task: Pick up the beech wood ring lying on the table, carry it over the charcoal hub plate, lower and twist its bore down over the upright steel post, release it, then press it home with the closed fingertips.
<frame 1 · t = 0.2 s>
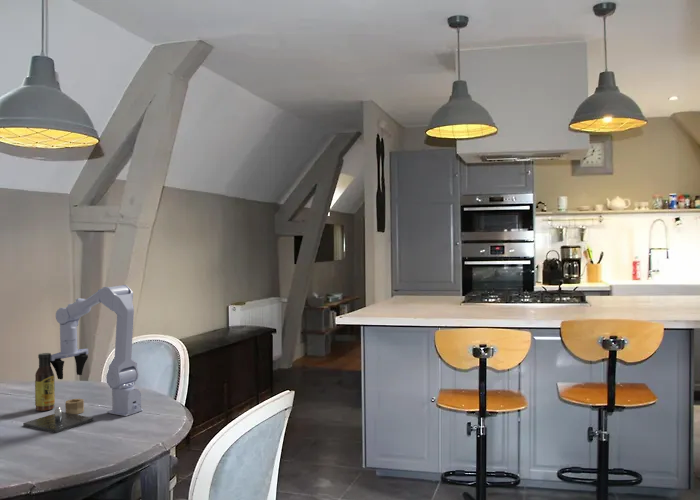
hand: (69, 376, 231), 10 cm above the table, tool pointing down, fingers open, 7 cm apart
hub: (58, 423, 207), on the table
sauce bottle: (45, 409, 224), on the table
ring: (74, 412, 220), on the table
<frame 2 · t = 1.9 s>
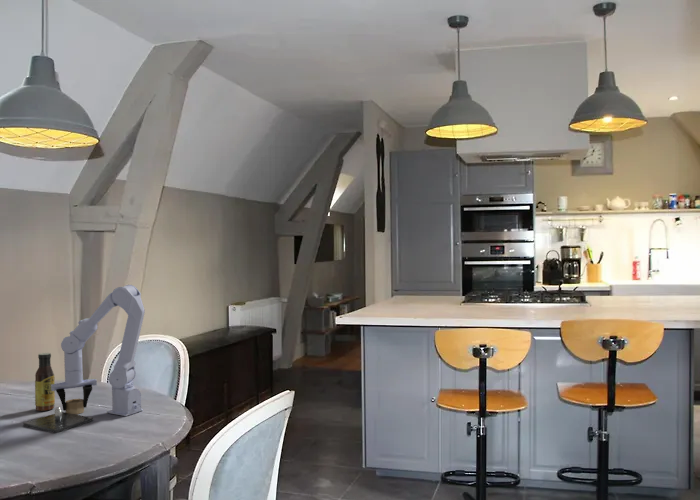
hand: (74, 408, 220), 1 cm above the table, tool pointing down, fingers closed on ring, 6 cm apart
ring: (74, 412, 220), on the table, touching gripper
everything else where it was.
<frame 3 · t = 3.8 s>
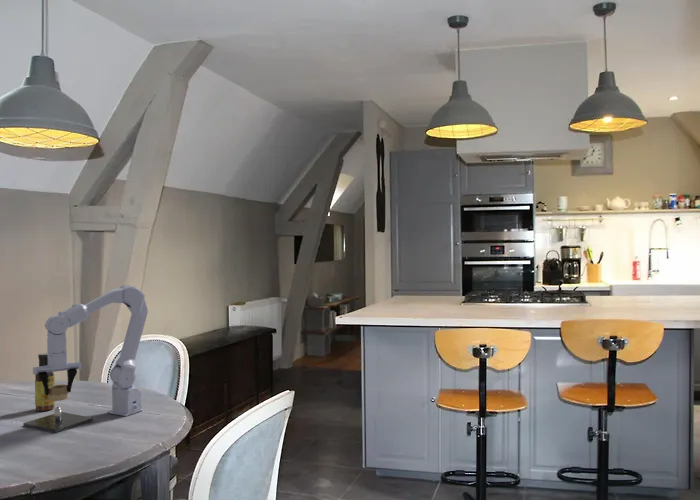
hand: (58, 393, 208), 10 cm above the table, tool pointing down, fingers closed on ring, 6 cm apart
ring: (58, 398, 208), point 8 cm above the table, touching gripper
everything else where it was.
when the fingers open (3 cm above the table, at t = 5.6 s): ring stays where it is, resting on hub.
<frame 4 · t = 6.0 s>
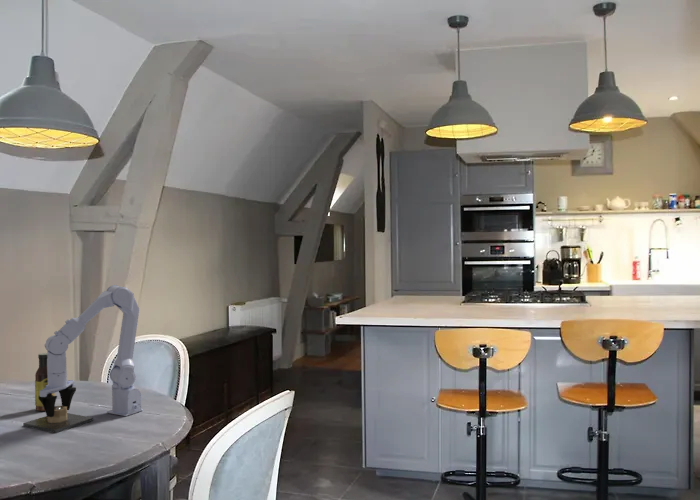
hand: (58, 413, 207), 3 cm above the table, tool pointing down, fingers open, 7 cm apart
ring: (57, 420, 208), point 1 cm above the table, touching hub
everything else where it was.
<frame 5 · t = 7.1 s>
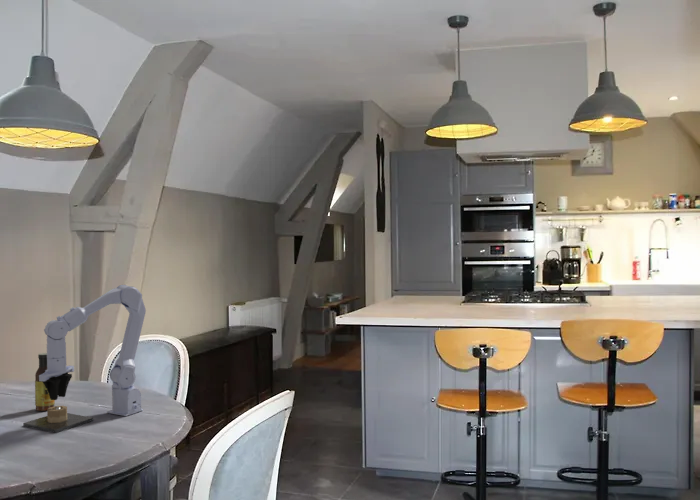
hand: (57, 398, 207), 8 cm above the table, tool pointing down, fingers open, 3 cm apart
nothing on the table moved.
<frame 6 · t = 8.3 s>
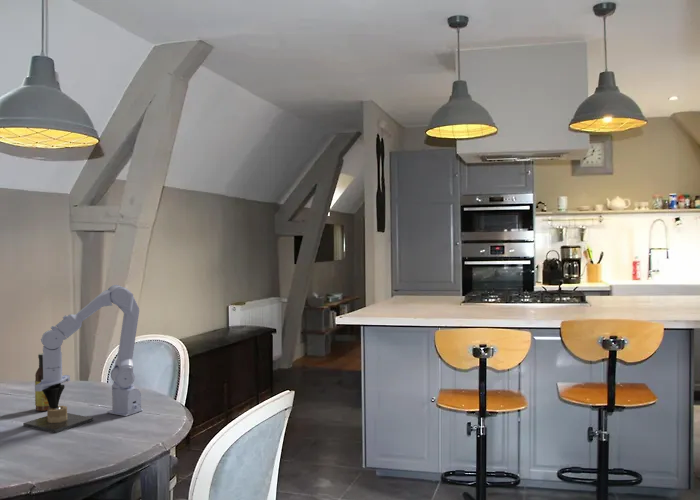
hand: (53, 407, 208), 5 cm above the table, tool pointing down, fingers closed, pressing on ring
ring: (57, 420, 208), point 1 cm above the table, touching gripper, hub
everything else where it was.
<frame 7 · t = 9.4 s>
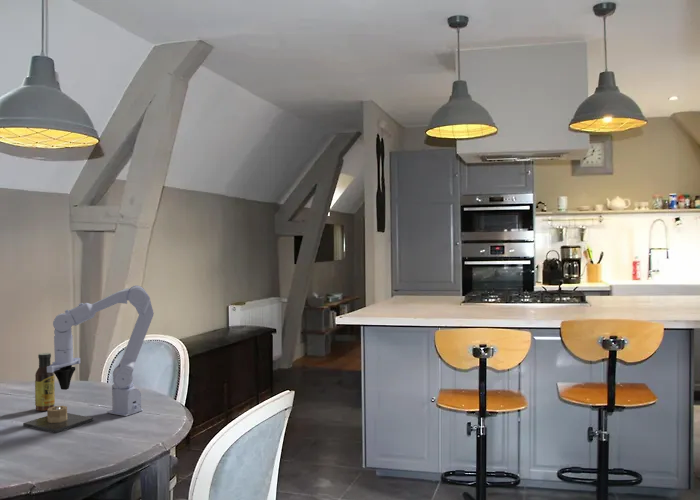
hand: (64, 389, 213), 10 cm above the table, tool pointing down, fingers closed
ring: (57, 420, 208), point 1 cm above the table, touching hub
everything else where it was.
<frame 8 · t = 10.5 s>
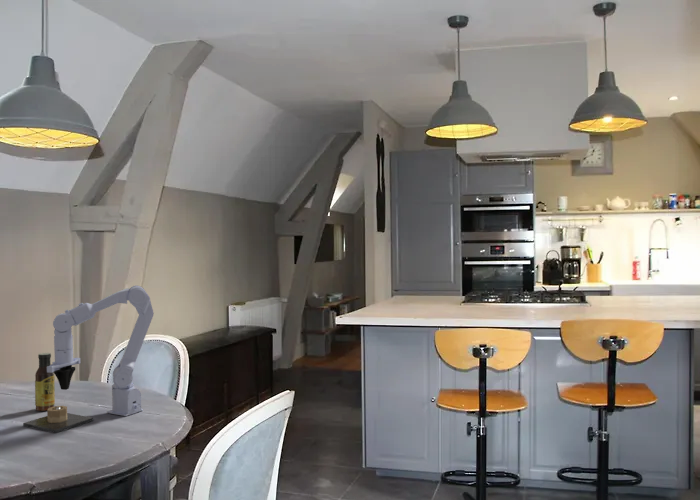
hand: (64, 389, 213), 10 cm above the table, tool pointing down, fingers closed
nothing on the table moved.
at the end: ring 0.3 cm off-centre on the hub, point 1.0 cm above the hub's base; ring tilted 0°; the gripper is holding nothing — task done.
